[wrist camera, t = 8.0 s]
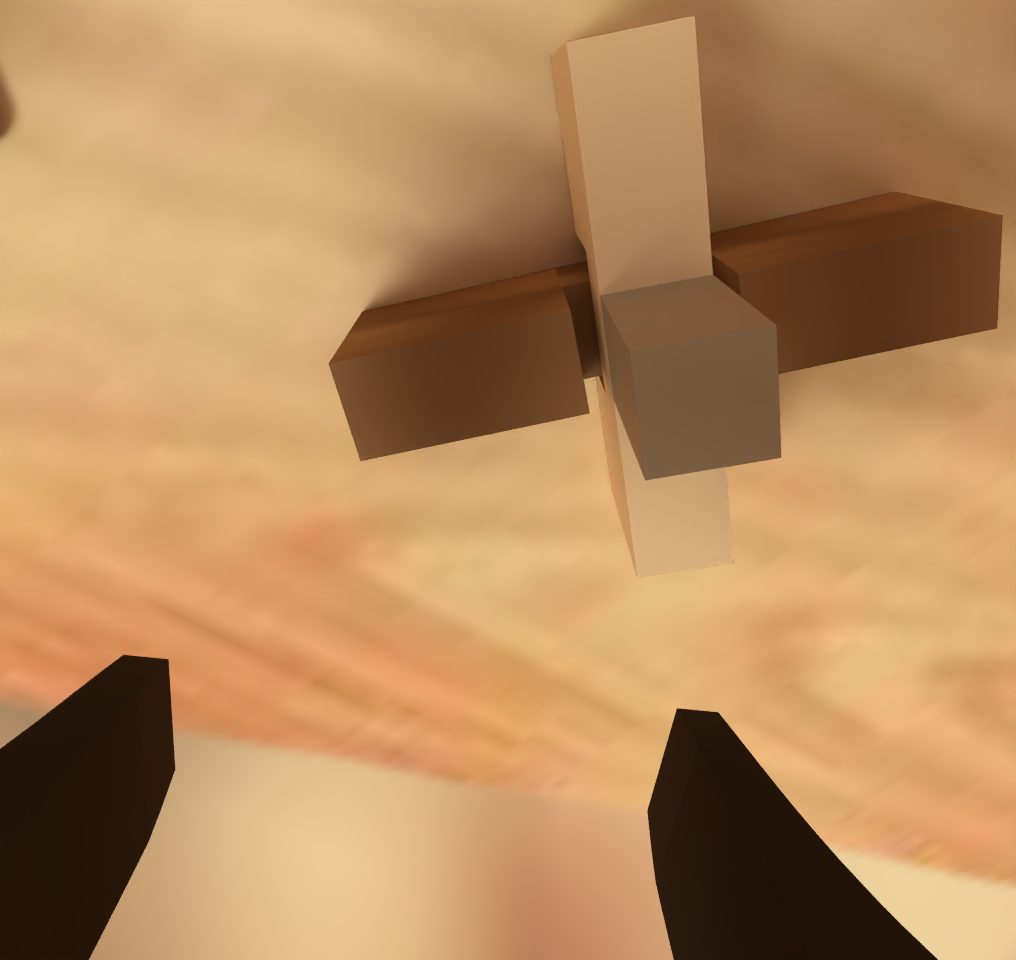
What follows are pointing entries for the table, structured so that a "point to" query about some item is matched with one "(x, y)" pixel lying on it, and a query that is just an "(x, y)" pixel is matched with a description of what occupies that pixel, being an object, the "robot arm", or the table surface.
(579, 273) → the walnut slotted plate
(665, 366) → the burr puzzle piece
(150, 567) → the table surface
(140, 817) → the robot arm
